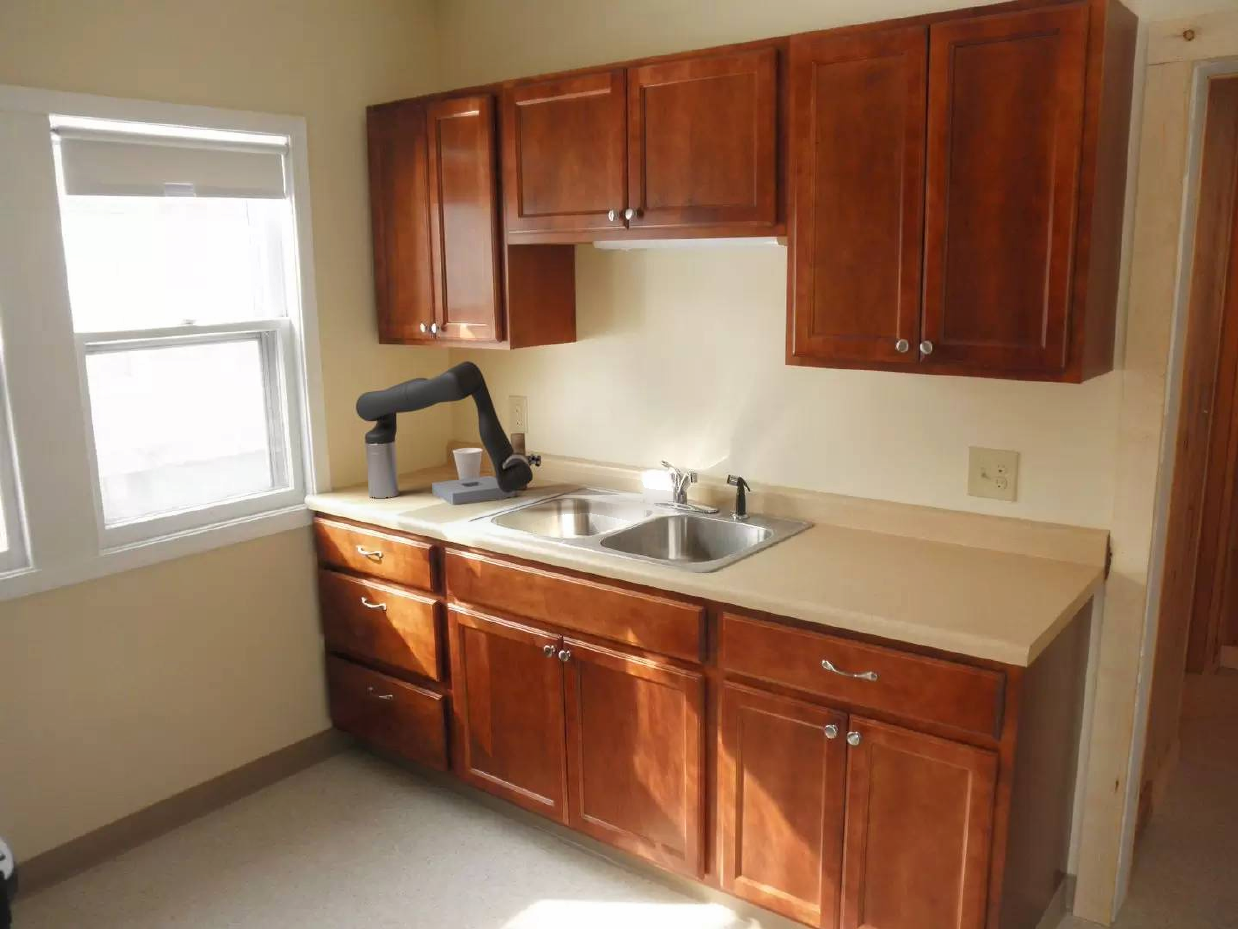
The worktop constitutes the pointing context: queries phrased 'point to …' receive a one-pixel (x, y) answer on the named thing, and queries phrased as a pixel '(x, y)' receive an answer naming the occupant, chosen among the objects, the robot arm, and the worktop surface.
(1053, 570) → the worktop surface
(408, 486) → the worktop surface
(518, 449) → the dowel
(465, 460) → the cup
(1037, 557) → the worktop surface
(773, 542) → the worktop surface
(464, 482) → the socket block
